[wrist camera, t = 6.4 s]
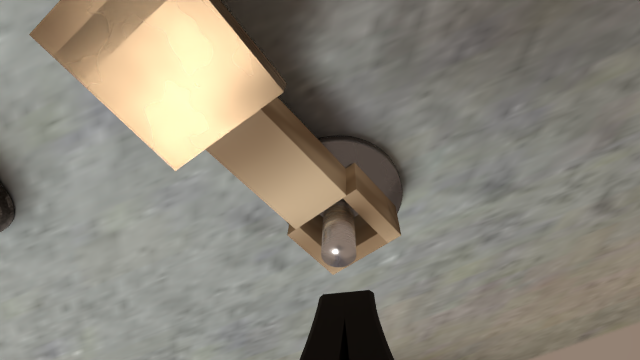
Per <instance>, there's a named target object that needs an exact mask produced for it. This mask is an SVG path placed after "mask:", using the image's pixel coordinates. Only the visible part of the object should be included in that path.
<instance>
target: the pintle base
mask: <svg viewBox="0 0 640 360" xmlns="http://www.w3.org/2000/svg"><path fill="white" fill-rule="evenodd" d="M318 140H319V141H320V142H321V143H322V144H323V145H324V146H325V147H326V148H327V149H328V151H329V152H330V153H331V154H332V155H333V156H334V157H335V158H336V159H337V160H338V161H339V162H340V163H341V164H342V165H343V166H344V167H345V168H347V167H349V166H350V165H352V164H353V163H356V164H357V166H358V167H359V168H360V169H361V170H362V171H363V172H364V173H365V174H366V175H367V176H368V177H369V178H370V179H371V180H372V182H373V183H374V184H375V185H376V186H377V187H378V188H379V189H380V190H381V191H382V192H383V193H384V194H385V195H386V197H387V198H388V199H389V200H390V201H391V202H392V203H393V204H394V205H395V206H396V212H397V213H398V211H399V208H400V205H401V201H402V186H401V182H400V178H399V174H398V171H397V169H396V166H395V165H394V163H393V162H392V160H391V159H390V158H389V157H388V155H387V154H386V153H385V152H383V151H382V150H381V149H380V148H378V147H377V146H375V145H374V144H371V143H369V142H367V141H365V140H362V139H359V138H354V137H349V136H329V137H323V138H320V139H318ZM320 215H321V216H322V217H323V228H322V247H321V257H322V259H323V261H324V262H325V263H326V264H328V265H330V266H332V267H345V266H348V265H350V264H352V263H353V262H354V260H355V259H356V238H355V218H354V217H355V216H357V215H359V214H358V213H357V212H356V211H355V210H354V209H353V208H352V207H351V206H350V205H349V204H348V203H347V202H346V201H345V200H344V199H343V198H342V199H341V200H339V201H338V202H336V203H335V204H333V205H332V206H330V207H329V208H327V209H326V210H324V211H323V212H321V213H320ZM285 221H286V220H285ZM286 222H287V221H286ZM287 223H288V222H287ZM288 224H289V223H288Z"/></svg>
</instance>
